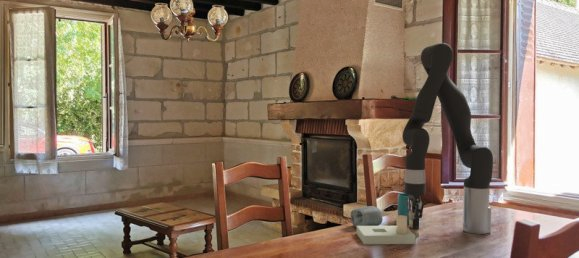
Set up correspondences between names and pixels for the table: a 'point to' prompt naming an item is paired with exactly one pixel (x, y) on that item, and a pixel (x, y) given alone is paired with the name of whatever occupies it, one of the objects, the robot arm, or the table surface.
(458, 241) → the table surface
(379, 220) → the spool
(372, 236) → the seat board
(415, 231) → the peg
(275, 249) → the table surface
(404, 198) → the cup
